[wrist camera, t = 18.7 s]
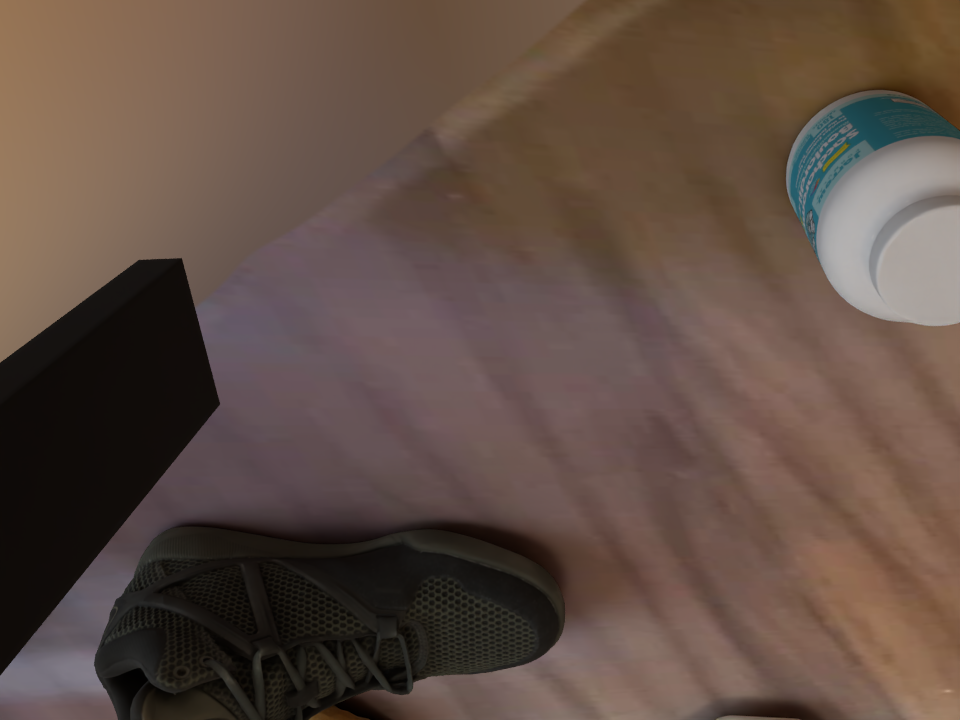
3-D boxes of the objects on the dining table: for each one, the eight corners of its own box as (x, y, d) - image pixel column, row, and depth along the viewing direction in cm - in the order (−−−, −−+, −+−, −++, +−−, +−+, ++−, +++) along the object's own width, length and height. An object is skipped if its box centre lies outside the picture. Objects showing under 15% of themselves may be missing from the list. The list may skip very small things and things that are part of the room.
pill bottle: (798, 82, 42) (862, 155, 30) (963, 90, 41) (1096, 169, 29) (770, 232, 46) (818, 351, 34) (922, 243, 45) (1026, 368, 33)
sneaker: (575, 633, 61) (567, 870, 47) (181, 637, 66) (64, 852, 52) (558, 490, 56) (544, 709, 41) (129, 505, 60) (-19, 706, 46)
